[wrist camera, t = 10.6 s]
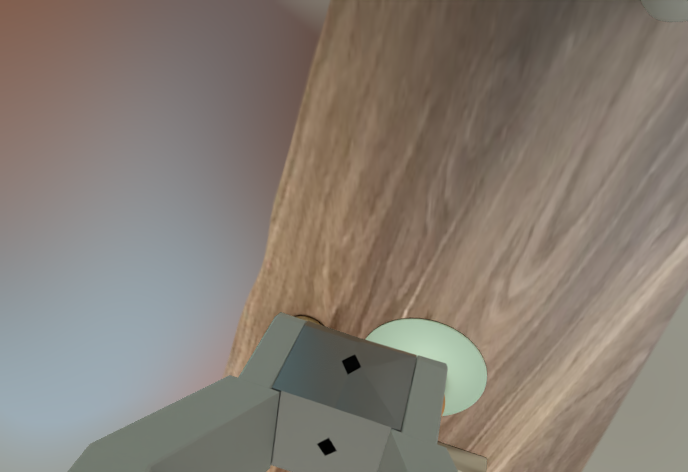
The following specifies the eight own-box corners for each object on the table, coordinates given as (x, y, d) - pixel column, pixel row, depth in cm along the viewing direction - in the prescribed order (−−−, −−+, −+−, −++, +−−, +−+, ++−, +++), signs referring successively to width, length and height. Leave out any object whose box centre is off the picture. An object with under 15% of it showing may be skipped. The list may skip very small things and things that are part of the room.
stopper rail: (319, 402, 55) (311, 420, 53) (486, 457, 53) (486, 479, 51) (316, 414, 56) (309, 432, 54) (481, 469, 54) (479, 491, 52)
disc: (372, 302, 47) (371, 303, 47) (504, 342, 45) (504, 343, 45) (350, 391, 53) (349, 393, 53) (466, 429, 52) (465, 431, 51)
